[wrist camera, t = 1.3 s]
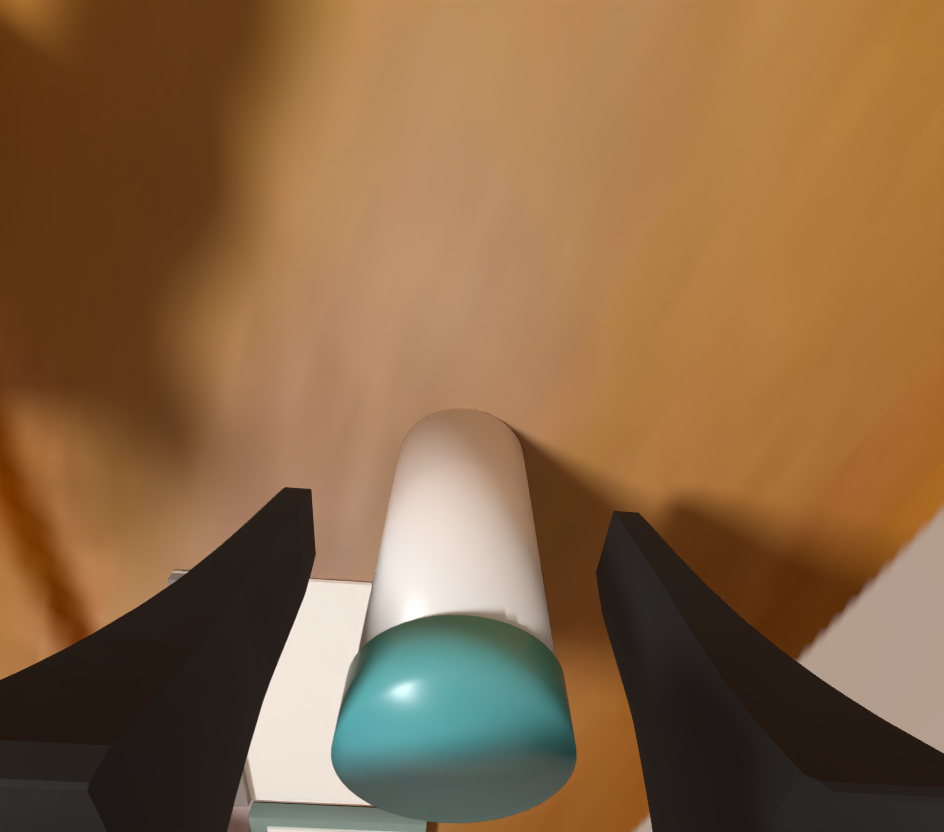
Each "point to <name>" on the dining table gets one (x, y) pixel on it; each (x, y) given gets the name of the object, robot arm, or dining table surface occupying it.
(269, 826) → the green striped bar
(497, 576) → the white teal cylinder
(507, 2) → the dining table surface
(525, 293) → the dining table surface
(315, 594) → the white rectangular slab
